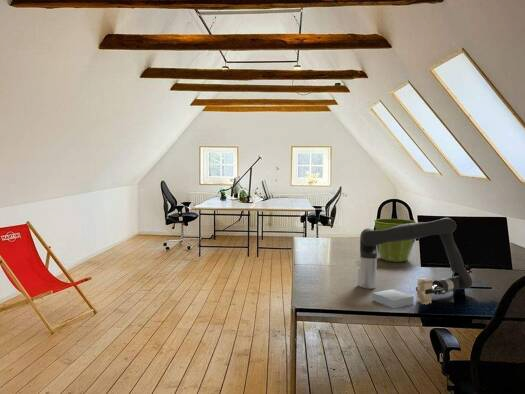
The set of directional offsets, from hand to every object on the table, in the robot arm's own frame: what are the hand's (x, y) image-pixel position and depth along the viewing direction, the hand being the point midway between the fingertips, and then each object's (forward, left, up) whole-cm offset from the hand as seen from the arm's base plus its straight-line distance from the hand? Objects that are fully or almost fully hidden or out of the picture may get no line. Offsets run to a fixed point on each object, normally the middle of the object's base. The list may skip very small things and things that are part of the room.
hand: (421, 290), depth 222 cm
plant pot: (-78, +67, -7) cm, 103 cm away
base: (-8, -11, -7) cm, 15 cm away
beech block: (0, +3, -7) cm, 7 cm away
